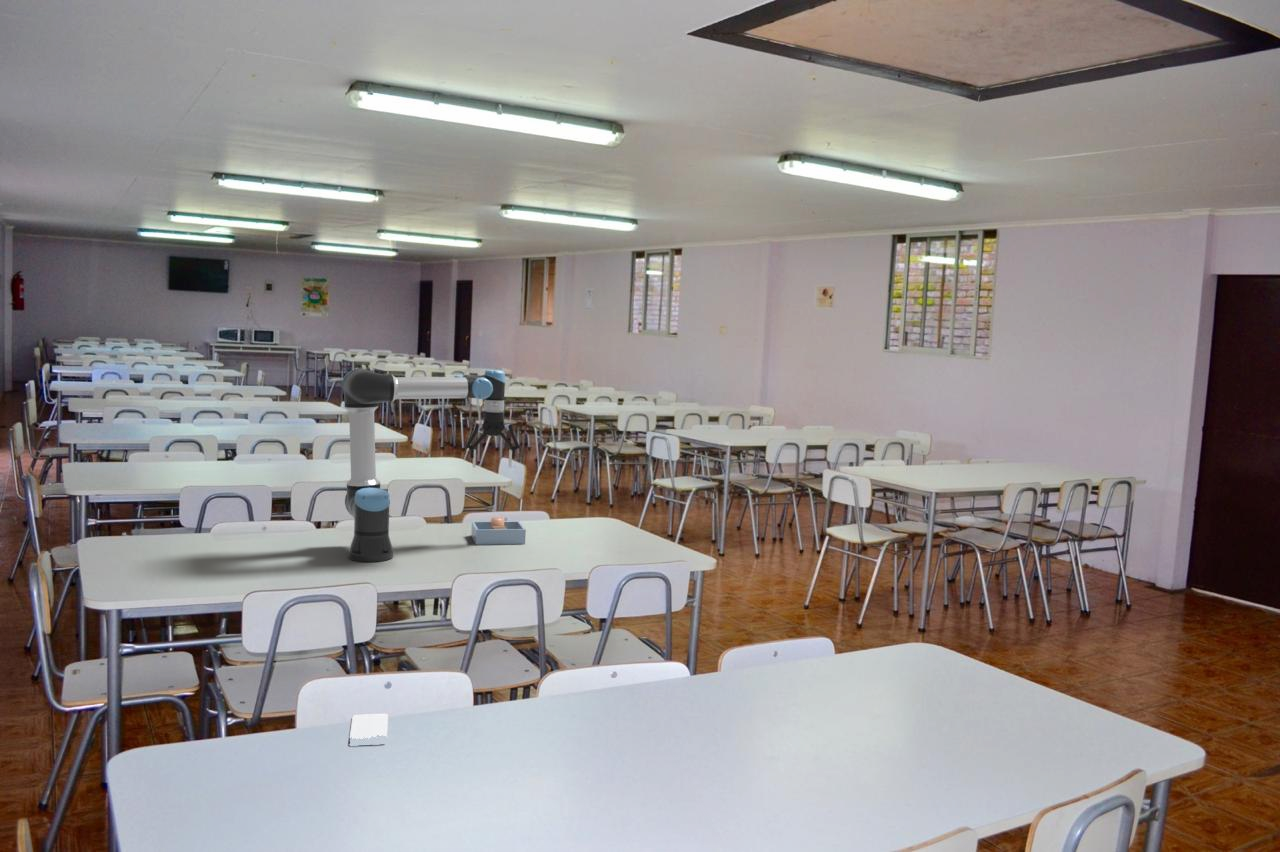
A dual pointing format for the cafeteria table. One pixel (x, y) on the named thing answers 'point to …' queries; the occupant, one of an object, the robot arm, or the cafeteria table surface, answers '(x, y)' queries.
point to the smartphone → (369, 725)
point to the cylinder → (497, 522)
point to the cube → (499, 527)
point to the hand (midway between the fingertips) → (492, 467)
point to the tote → (498, 533)
